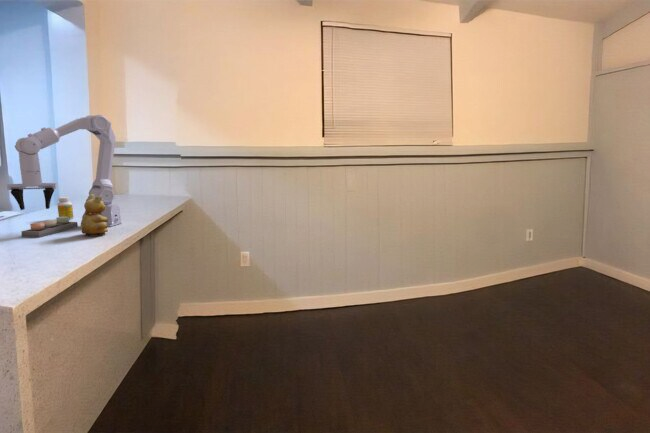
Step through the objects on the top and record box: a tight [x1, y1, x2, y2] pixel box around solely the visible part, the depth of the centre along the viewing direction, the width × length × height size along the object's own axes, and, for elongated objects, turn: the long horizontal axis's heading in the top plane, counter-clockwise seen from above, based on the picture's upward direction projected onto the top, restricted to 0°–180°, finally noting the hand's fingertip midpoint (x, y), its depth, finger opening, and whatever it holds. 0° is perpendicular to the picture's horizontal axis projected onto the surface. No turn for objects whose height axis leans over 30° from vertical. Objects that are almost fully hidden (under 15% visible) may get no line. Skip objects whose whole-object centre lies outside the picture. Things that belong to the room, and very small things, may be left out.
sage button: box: [55, 216, 70, 224], centre depth 156 cm, size 4×4×2 cm
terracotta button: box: [29, 222, 44, 230], centre depth 145 cm, size 4×4×2 cm
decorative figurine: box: [80, 194, 109, 237], centre depth 144 cm, size 10×8×15 cm
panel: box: [20, 221, 79, 238], centre depth 151 cm, size 7×19×2 cm, turn 173°
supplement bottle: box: [56, 196, 74, 221], centre depth 174 cm, size 5×5×10 cm
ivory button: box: [43, 218, 57, 227], centre depth 150 cm, size 4×4×2 cm
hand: (35, 209), depth 145 cm, fingers open, 7 cm apart
